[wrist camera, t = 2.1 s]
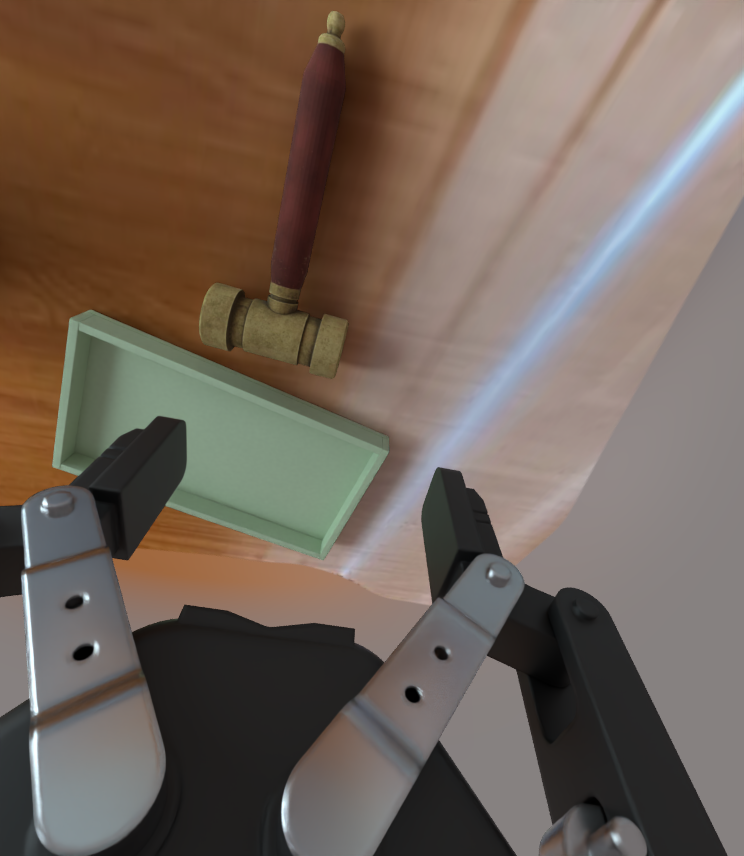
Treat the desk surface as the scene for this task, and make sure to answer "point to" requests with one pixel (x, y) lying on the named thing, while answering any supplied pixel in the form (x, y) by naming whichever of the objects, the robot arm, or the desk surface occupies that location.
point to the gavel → (292, 235)
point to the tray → (217, 435)
